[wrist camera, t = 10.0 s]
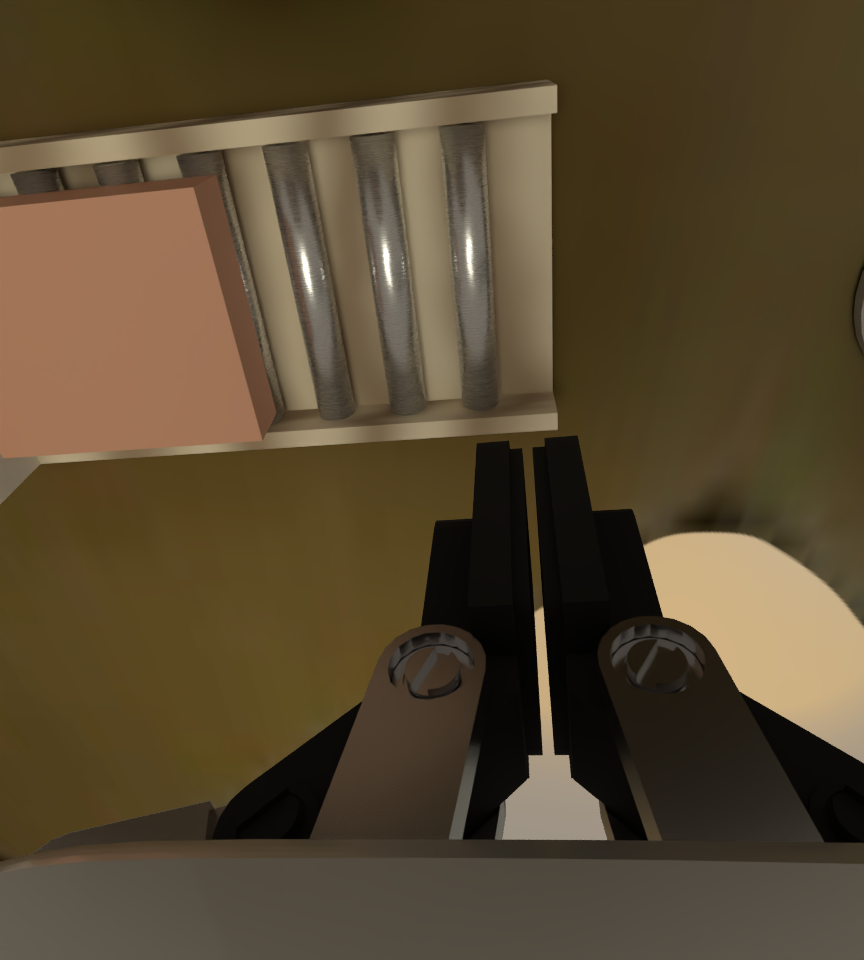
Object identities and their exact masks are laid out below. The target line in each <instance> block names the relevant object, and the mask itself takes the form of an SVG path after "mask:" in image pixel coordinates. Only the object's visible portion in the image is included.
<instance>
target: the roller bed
mask: <svg viewBox="0 0 864 960" xmlns="http://www.w3.org/2000/svg"><path fill="white" fill-rule="evenodd" d="M551 113H557V85H556V84H555V83H553V82H551V81H550V80H548V79H546V80H537V81H528V82H519V83H510V84H502V85H493V86H484V87H475V88H466V89H458V90H449V91H440V92H431V93H422V94H414V95H405V96H396V97H387V98H378V99H369V100H361V101H352V102H343V103H334V104H325V105H317V106H308V107H299V108H290V109H281V110H272V111H264V112H255V113H246V114H237V115H228V116H220V117H211V118H202V119H193V120H184V121H175V122H167V123H158V124H149V125H140V126H131V127H123V128H114V129H105V130H96V131H87V132H79V133H70V134H61V135H52V136H43V137H34V138H26V139H17V140H8V141H0V197H6V196H16V195H18V193H17V191H16V188H15V186H14V183H13V181H12V178H11V176H10V174H12V173H16V172H20V171H27V170H36V169H45V168H54V167H56V168H57V170H58V173H59V176H60V178H61V181H62V184H63V187H64V189H65V190H73V189H82V188H92V187H99V184H98V181H97V178H96V175H95V173H94V170H93V167H92V165H94V164H97V163H101V162H109V161H119V160H128V159H138V162H139V165H140V169H141V172H142V175H143V178H144V182H149V181H158V180H168V179H177V178H182V176H181V172H180V169H179V165H178V162H177V158H176V156H177V155H180V154H184V153H192V152H201V151H211V150H221V153H222V157H223V161H224V165H225V170H226V174H227V178H228V182H229V186H230V190H231V194H232V198H233V202H234V206H235V210H236V214H237V219H238V223H239V227H240V231H241V235H242V239H243V243H244V247H245V251H246V255H247V259H248V263H249V267H250V272H251V276H252V280H253V284H254V288H255V292H256V296H257V300H258V304H259V308H260V312H261V316H262V320H263V325H264V329H265V333H266V337H267V341H268V345H269V349H270V353H271V357H272V361H273V365H274V369H275V373H276V378H277V382H278V386H279V390H280V394H281V398H282V402H283V406H284V410H285V417H284V418H283V419H282V420H280V421H278V422H276V423H274V424H271V425H270V427H269V429H268V431H267V433H266V435H265V437H264V439H263V441H254V442H239V443H224V444H210V445H195V446H180V447H165V448H150V449H135V450H120V451H106V452H91V453H76V454H61V455H46V456H37V458H38V460H39V462H40V464H46V463H61V462H76V461H91V460H106V459H121V458H136V457H152V456H167V455H182V454H197V453H212V452H227V451H242V450H257V449H272V448H288V447H303V446H318V445H333V444H348V443H363V442H378V441H393V440H408V439H424V438H439V437H454V436H469V435H484V434H499V433H514V432H529V431H545V430H558V412H557V408H556V404H555V400H554V395H553V350H552V180H551ZM477 121H483V122H484V128H485V147H486V165H487V184H488V203H489V222H490V240H491V259H492V278H493V296H494V315H495V334H496V353H497V371H498V390H499V403H498V404H497V405H496V406H495V407H493V408H491V409H487V410H480V411H476V410H470V409H467V408H465V407H464V406H463V403H462V392H461V380H460V368H459V357H458V345H457V334H456V322H455V310H454V299H453V287H452V275H451V264H450V252H449V240H448V229H447V217H446V206H445V194H444V182H443V171H442V159H441V147H440V136H439V126H442V125H450V124H459V123H468V122H477ZM385 131H394V136H395V145H396V153H397V162H398V170H399V179H400V187H401V195H402V204H403V212H404V221H405V229H406V238H407V246H408V255H409V263H410V272H411V280H412V289H413V297H414V305H415V314H416V322H417V331H418V339H419V348H420V356H421V365H422V373H423V382H424V390H425V398H426V408H425V409H424V410H423V411H421V412H420V413H417V414H414V415H408V416H401V415H396V414H394V413H392V412H391V410H390V404H389V397H388V391H387V384H386V377H385V371H384V364H383V357H382V351H381V344H380V338H379V331H378V324H377V318H376V311H375V304H374V298H373V291H372V284H371V278H370V271H369V265H368V258H367V251H366V245H365V238H364V231H363V225H362V218H361V211H360V205H359V198H358V192H357V185H356V178H355V172H354V165H353V158H352V152H351V145H350V138H349V137H350V136H352V135H358V134H367V133H376V132H385ZM303 140H306V143H307V148H308V154H309V159H310V165H311V170H312V176H313V181H314V187H315V192H316V198H317V203H318V209H319V214H320V220H321V225H322V231H323V236H324V242H325V247H326V253H327V258H328V264H329V269H330V275H331V280H332V286H333V291H334V297H335V302H336V307H337V313H338V318H339V324H340V329H341V335H342V340H343V346H344V351H345V357H346V362H347V368H348V373H349V379H350V384H351V390H352V395H353V401H354V406H355V412H354V413H353V414H352V415H351V416H349V417H347V418H345V419H342V420H336V421H328V420H324V419H322V418H321V417H320V416H319V411H318V406H317V402H316V397H315V392H314V388H313V383H312V378H311V374H310V369H309V364H308V360H307V355H306V350H305V346H304V341H303V336H302V332H301V327H300V323H299V318H298V313H297V309H296V304H295V299H294V295H293V290H292V285H291V281H290V276H289V271H288V267H287V262H286V257H285V253H284V248H283V243H282V239H281V234H280V229H279V225H278V220H277V216H276V211H275V206H274V202H273V197H272V192H271V188H270V183H269V178H268V174H267V169H266V164H265V160H264V155H263V150H262V146H264V145H267V144H275V143H284V142H293V141H303Z"/></svg>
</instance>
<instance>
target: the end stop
mask: <svg viewBox="0 0 864 960" xmlns="http://www.w3.org/2000/svg"><path fill="white" fill-rule="evenodd" d="M39 465H40V462H39V460H38V458H37V456H31V457H16V458H2V456H1V454H0V504H1V503H2V502H3V501H4V500H5V499H6V498H7V497H8V496H9V495H10V494H11V493H12V492H13V491H14V490H15V489H16V488H17V487H18V486H19V485H20V484H21V483H22V482H23V481H24V480H25V479H26V478H27V477H28V476H29V475H30V474H31V473H32V472H33V471H34V470H35V469H36V468H37V467H38V466H39Z"/></svg>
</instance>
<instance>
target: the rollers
mask: <svg viewBox="0 0 864 960" xmlns="http://www.w3.org/2000/svg"><path fill="white" fill-rule="evenodd" d="M439 136H440V147H441V159H442V171H443V182H444V194H445V206H446V217H447V229H448V240H449V252H450V264H451V275H452V287H453V299H454V310H455V322H456V334H457V345H458V357H459V368H460V380H461V392H462V403H463V406H464V407H465V408H467V409H470V410H476V411H480V410H487V409H491V408H493V407H495V406H496V405H497V404H498V403H499V390H498V371H497V353H496V334H495V315H494V296H493V278H492V259H491V240H490V222H489V203H488V184H487V165H486V147H485V128H484V122H483V121H477V122H468V123H459V124H450V125H442V126H439ZM349 138H350V145H351V152H352V158H353V165H354V172H355V178H356V185H357V192H358V198H359V205H360V211H361V218H362V225H363V231H364V238H365V245H366V251H367V258H368V265H369V271H370V278H371V284H372V291H373V298H374V304H375V311H376V318H377V324H378V331H379V338H380V344H381V351H382V357H383V364H384V371H385V377H386V384H387V391H388V397H389V404H390V410H391V412H392V413H394V414H396V415H401V416H408V415H414V414H417V413H420V412H421V411H423V410H424V409H425V408H426V398H425V390H424V382H423V373H422V365H421V356H420V348H419V339H418V331H417V322H416V314H415V305H414V297H413V289H412V280H411V272H410V263H409V255H408V246H407V238H406V229H405V221H404V212H403V204H402V195H401V187H400V179H399V170H398V162H397V153H396V145H395V136H394V131H385V132H376V133H367V134H358V135H352V136H350V137H349ZM262 150H263V155H264V160H265V164H266V169H267V174H268V178H269V183H270V188H271V192H272V197H273V202H274V206H275V211H276V216H277V220H278V225H279V229H280V234H281V239H282V243H283V248H284V253H285V257H286V262H287V267H288V271H289V276H290V281H291V285H292V290H293V295H294V299H295V304H296V309H297V313H298V318H299V323H300V327H301V332H302V336H303V341H304V346H305V350H306V355H307V360H308V364H309V369H310V374H311V378H312V383H313V388H314V392H315V397H316V402H317V406H318V411H319V416H320V417H321V418H322V419H324V420H328V421H336V420H342V419H345V418H347V417H349V416H351V415H352V414H353V413H354V412H355V406H354V401H353V395H352V390H351V384H350V379H349V373H348V368H347V362H346V357H345V351H344V346H343V340H342V335H341V329H340V324H339V318H338V313H337V307H336V302H335V297H334V291H333V286H332V280H331V275H330V269H329V264H328V258H327V253H326V247H325V242H324V236H323V231H322V225H321V220H320V214H319V209H318V203H317V198H316V192H315V187H314V181H313V176H312V170H311V165H310V159H309V154H308V148H307V143H306V140H303V141H293V142H284V143H275V144H267V145H264V146H262ZM176 158H177V162H178V165H179V169H180V172H181V176H182V178H187V177H196V176H206V175H215V174H216V176H217V180H218V184H219V188H220V192H221V196H222V200H223V204H224V208H225V211H226V215H227V219H228V223H229V227H230V231H231V235H232V239H233V243H234V247H235V251H236V255H237V259H238V263H239V267H240V271H241V275H242V279H243V283H244V287H245V291H246V294H247V298H248V302H249V306H250V310H251V314H252V318H253V322H254V326H255V330H256V334H257V338H258V342H259V346H260V350H261V354H262V358H263V362H264V366H265V370H266V374H267V378H268V381H269V385H270V389H271V393H272V397H273V401H274V405H275V409H276V415H275V417H274V419H273V421H272V423H271V424H274V423H276V422H278V421H280V420H282V419H283V418H284V417H285V410H284V406H283V402H282V398H281V394H280V390H279V386H278V382H277V378H276V373H275V369H274V365H273V361H272V357H271V353H270V349H269V345H268V341H267V337H266V333H265V329H264V325H263V320H262V316H261V312H260V308H259V304H258V300H257V296H256V292H255V288H254V284H253V280H252V276H251V272H250V267H249V263H248V259H247V255H246V251H245V247H244V243H243V239H242V235H241V231H240V227H239V223H238V219H237V214H236V210H235V206H234V202H233V198H232V194H231V190H230V186H229V182H228V178H227V174H226V170H225V165H224V161H223V157H222V153H221V150H211V151H201V152H192V153H184V154H180V155H177V156H176ZM92 167H93V170H94V173H95V175H96V178H97V181H98V184H99V187H101V186H111V185H120V184H130V183H139V182H144V178H143V175H142V172H141V169H140V165H139V162H138V159H128V160H119V161H109V162H101V163H97V164H94V165H92ZM10 176H11V178H12V181H13V183H14V186H15V188H16V191H17V193H18V195H25V194H35V193H44V192H54V191H63V190H65V189H64V187H63V184H62V181H61V178H60V176H59V173H58V170H57V168H56V167H54V168H45V169H36V170H27V171H20V172H16V173H12V174H10Z"/></svg>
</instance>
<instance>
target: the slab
mask: <svg viewBox="0 0 864 960" xmlns="http://www.w3.org/2000/svg"><path fill="white" fill-rule="evenodd" d="M275 415H276V409H275V405H274V401H273V397H272V393H271V389H270V385H269V381H268V378H267V374H266V370H265V366H264V362H263V358H262V354H261V350H260V346H259V342H258V338H257V334H256V330H255V326H254V322H253V318H252V314H251V310H250V306H249V302H248V298H247V294H246V291H245V287H244V283H243V279H242V275H241V271H240V267H239V263H238V259H237V255H236V251H235V247H234V243H233V239H232V235H231V231H230V227H229V223H228V219H227V215H226V211H225V208H224V204H223V200H222V196H221V192H220V188H219V184H218V180H217V176H216V174H215V175H206V176H196V177H187V178H177V179H168V180H158V181H149V182H139V183H130V184H120V185H111V186H101V187H92V188H82V189H73V190H63V191H54V192H44V193H35V194H25V195H16V196H6V197H0V454H1V456H2V458H16V457H31V456H46V455H61V454H76V453H91V452H106V451H120V450H135V449H150V448H165V447H180V446H195V445H210V444H224V443H239V442H254V441H263V439H264V437H265V435H266V433H267V431H268V429H269V427H270V425H271V423H272V421H273V419H274V417H275Z"/></svg>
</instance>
